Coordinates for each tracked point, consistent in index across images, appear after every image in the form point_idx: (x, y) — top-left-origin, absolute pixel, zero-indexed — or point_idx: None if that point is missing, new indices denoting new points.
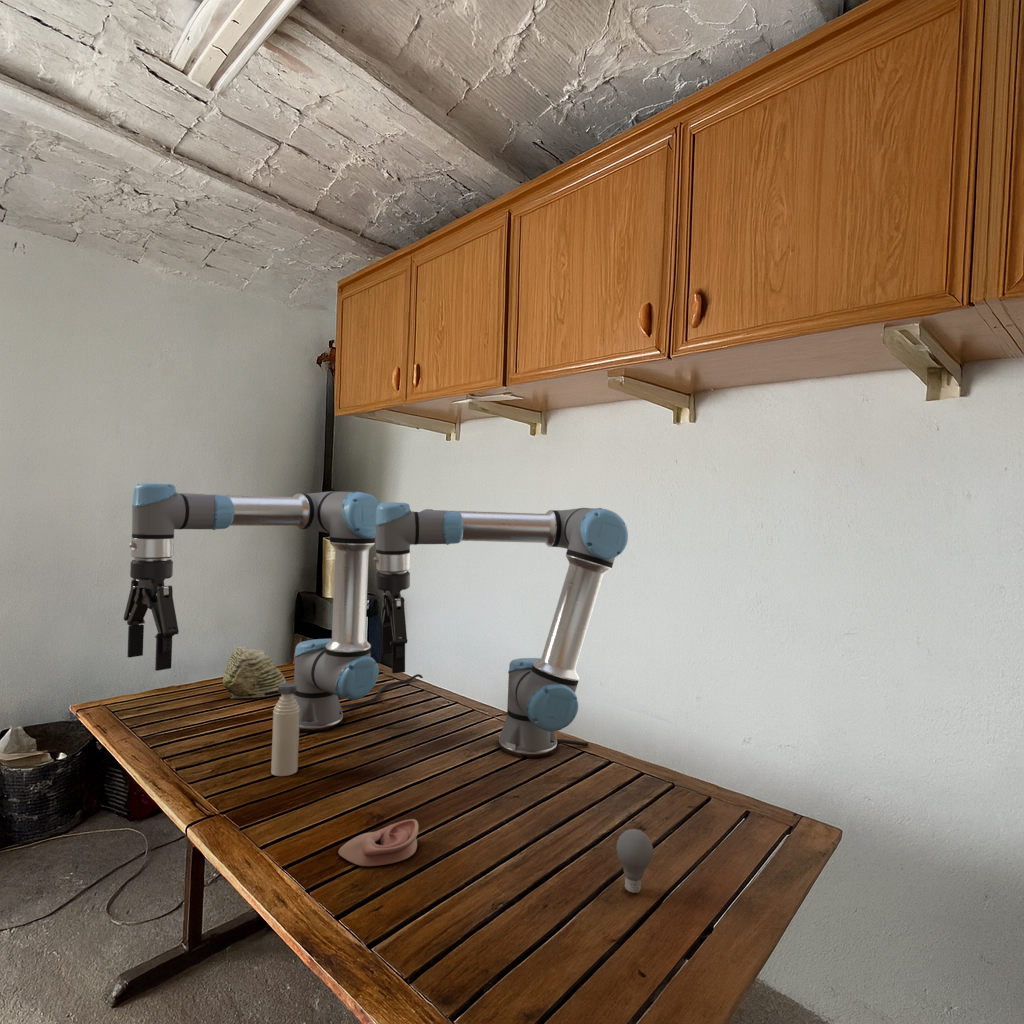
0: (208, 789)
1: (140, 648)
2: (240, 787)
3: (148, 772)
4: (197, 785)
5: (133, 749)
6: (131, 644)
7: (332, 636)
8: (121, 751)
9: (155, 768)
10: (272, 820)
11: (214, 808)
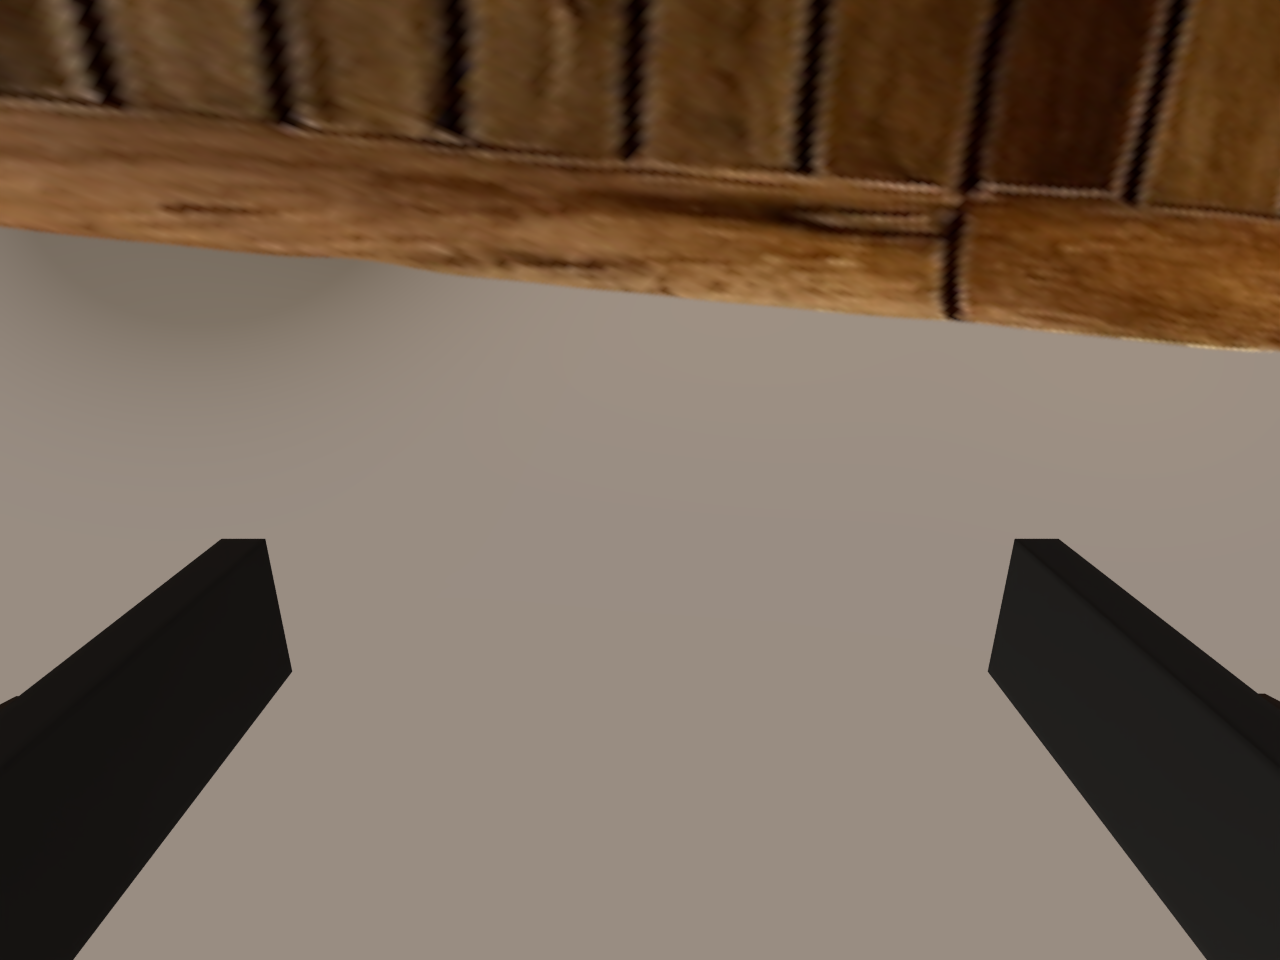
0: (743, 124)
1: (219, 612)
2: (831, 4)
3: (407, 234)
4: (673, 140)
5: (92, 177)
6: (202, 757)
7: None
8: (92, 227)
9: (382, 195)
10: (1185, 71)
11: (913, 190)
